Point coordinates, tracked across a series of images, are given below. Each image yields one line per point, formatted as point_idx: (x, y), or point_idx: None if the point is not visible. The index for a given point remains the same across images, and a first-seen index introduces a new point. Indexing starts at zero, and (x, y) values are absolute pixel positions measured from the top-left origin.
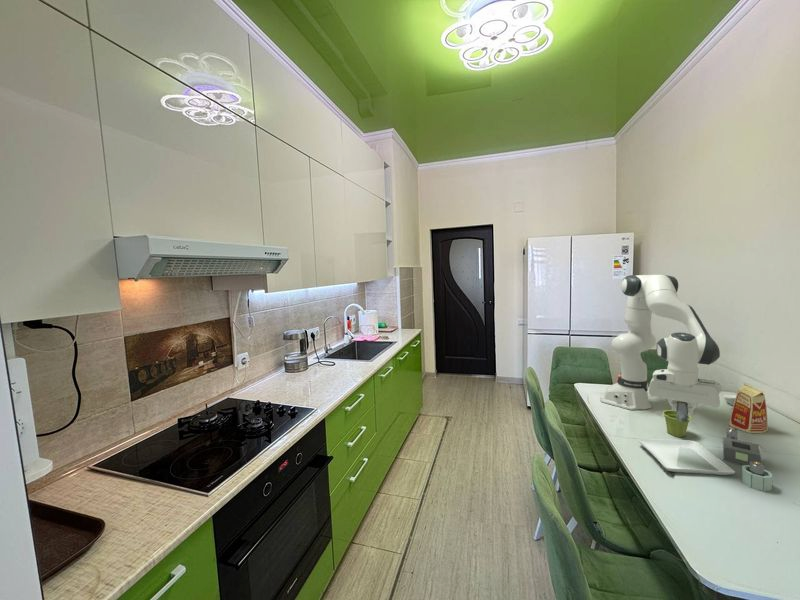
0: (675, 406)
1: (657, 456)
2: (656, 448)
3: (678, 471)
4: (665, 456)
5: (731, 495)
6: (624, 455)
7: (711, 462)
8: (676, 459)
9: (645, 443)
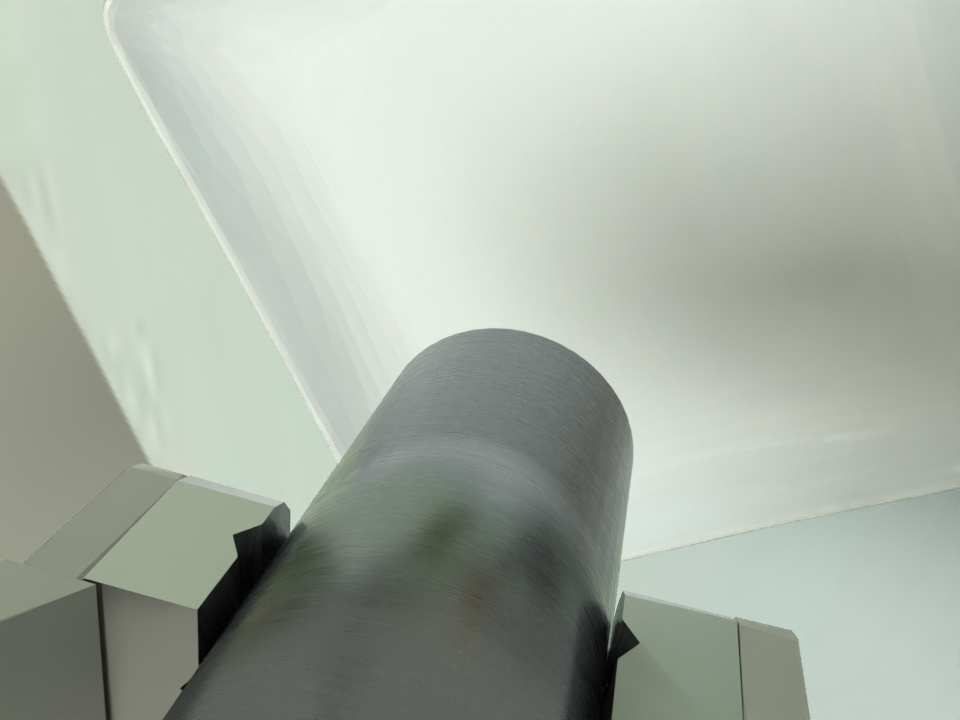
0: (153, 707)
1: (357, 288)
2: (345, 47)
3: None
4: (437, 226)
5: (891, 669)
6: (96, 337)
7: (940, 167)
8: (544, 240)
9: (213, 5)
